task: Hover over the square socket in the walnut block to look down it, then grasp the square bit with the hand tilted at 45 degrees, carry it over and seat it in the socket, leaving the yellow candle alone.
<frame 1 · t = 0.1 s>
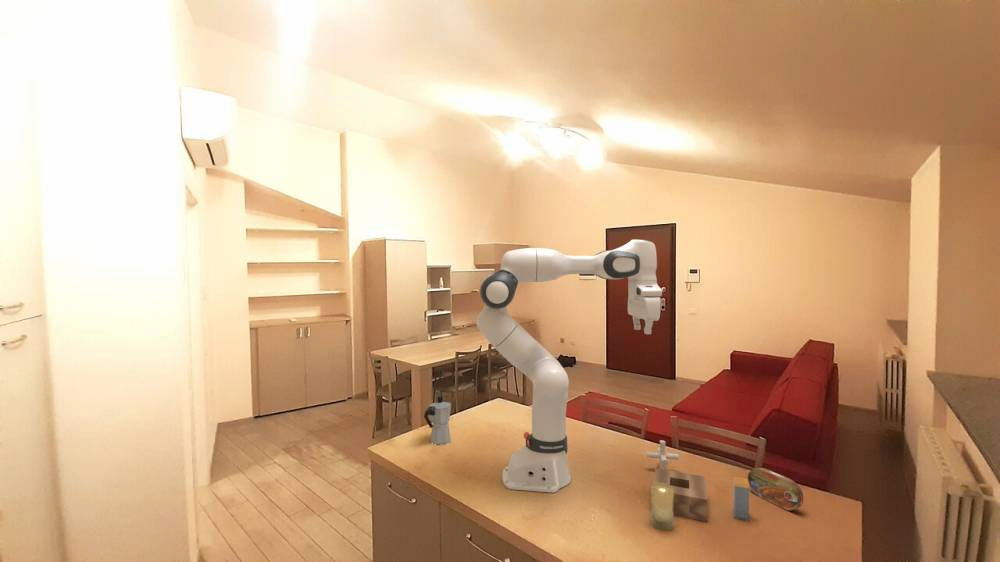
hand: (642, 331, 139), 48 cm above the counter, tool pointing down, fingers open, 8 cm apart
pipe connector: (662, 471, 144), on the counter
yellow candle: (662, 524, 114), on the counter
bore block: (679, 503, 124), on the counter
coffee maker: (438, 442, 170), on the counter
square bit: (741, 516, 117), on the counter
tin: (774, 502, 124), on the counter
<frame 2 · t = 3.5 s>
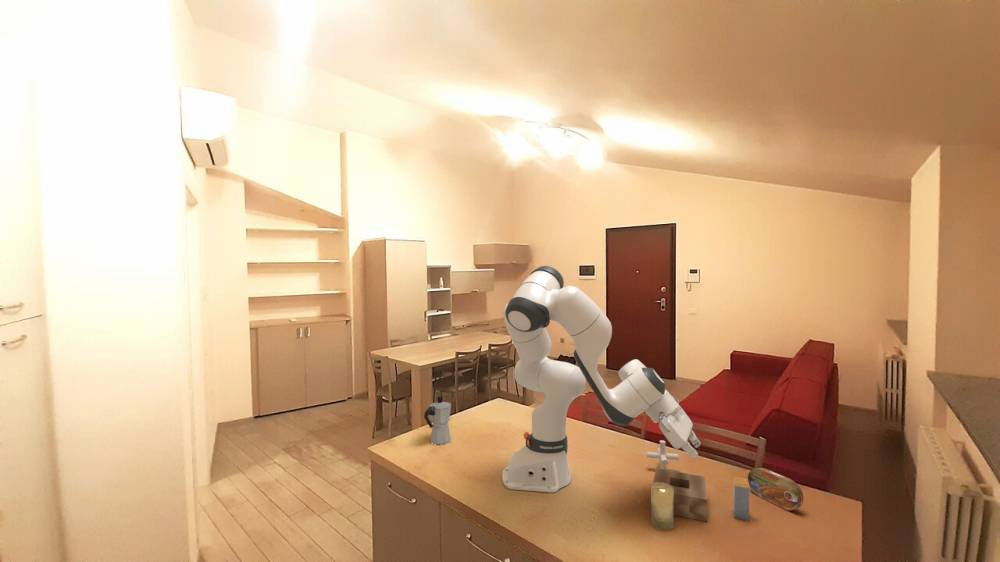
hand: (697, 451, 120), 17 cm above the counter, tool tilted 40°, fingers open, 8 cm apart
nothing on the counter moved.
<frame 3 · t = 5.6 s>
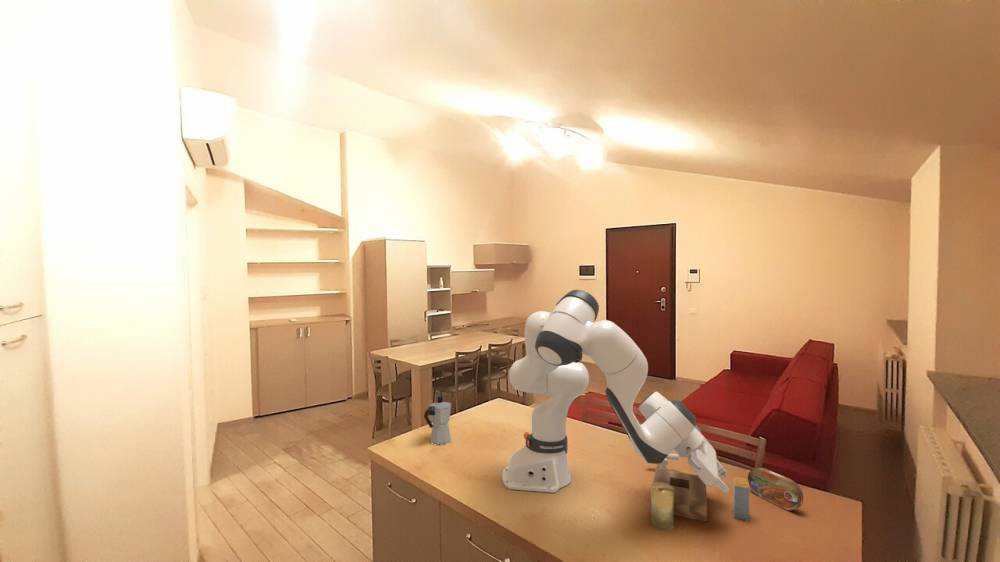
hand: (726, 482, 118), 9 cm above the counter, tool tilted 45°, fingers open, 8 cm apart
nothing on the counter moved.
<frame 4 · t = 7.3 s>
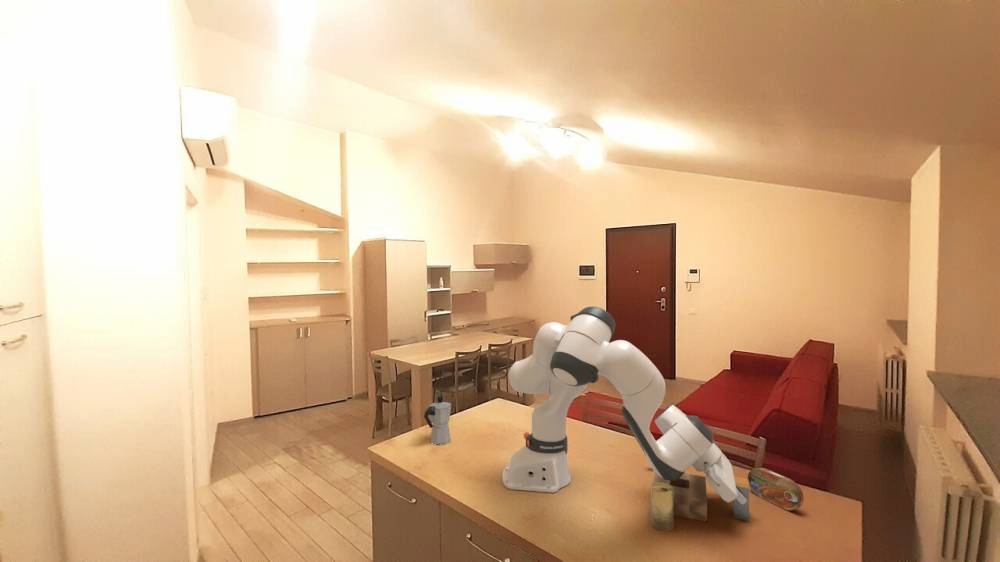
hand: (743, 497, 117), 5 cm above the counter, tool tilted 45°, fingers closed on square bit, 3 cm apart
square bit: (741, 516, 117), on the counter, touching gripper
everything else where it was.
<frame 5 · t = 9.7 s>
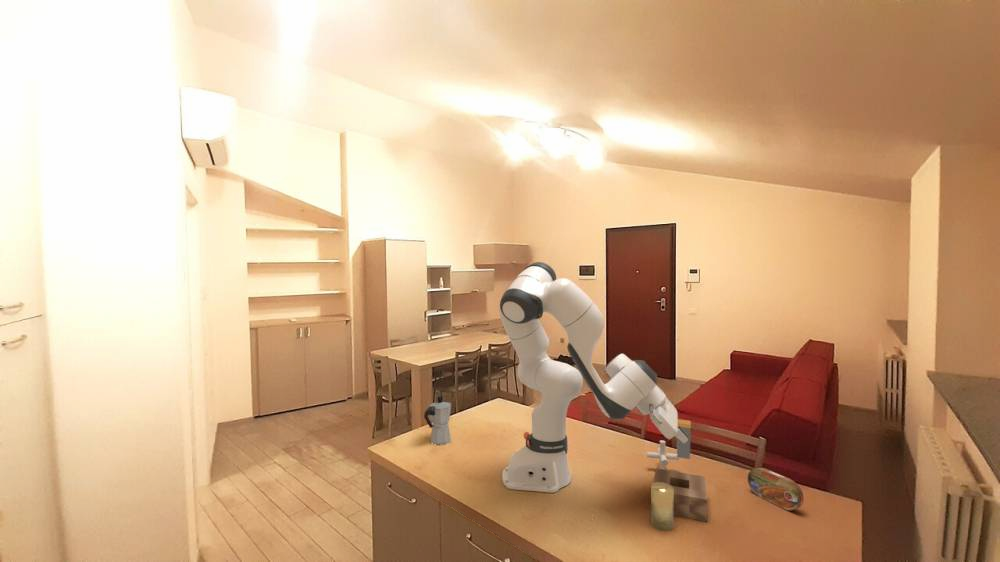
hand: (685, 438, 124), 19 cm above the counter, tool tilted 45°, fingers closed on square bit, 3 cm apart
square bit: (683, 455, 125), point 14 cm above the counter, touching gripper
everything else where it was.
when the fingers open (9 cm above the counter, at t = 12.1 s): square bit drops 4 cm, resting in bore block.
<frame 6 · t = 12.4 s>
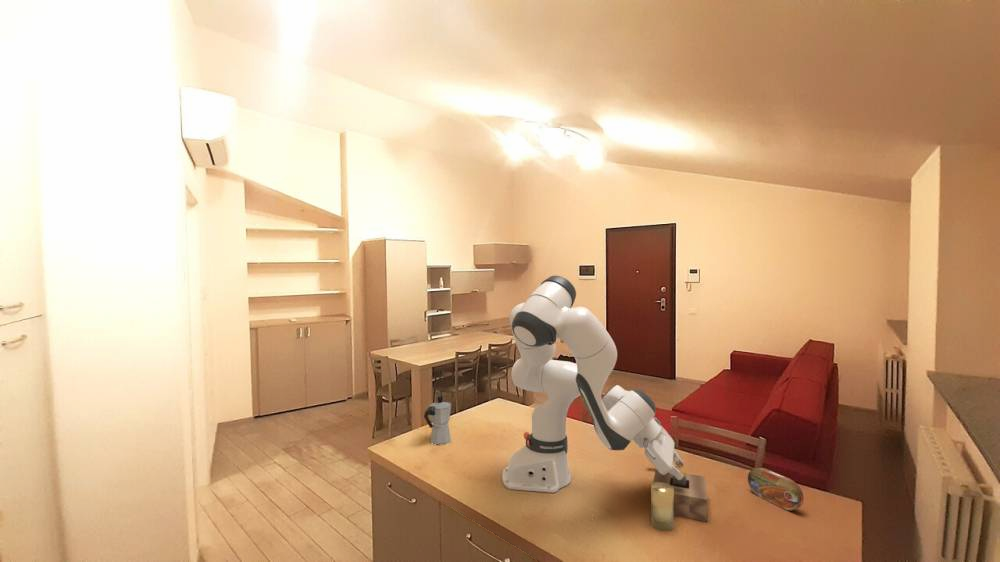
hand: (681, 471, 124), 9 cm above the counter, tool tilted 45°, fingers open, 7 cm apart
square bit: (679, 503, 124), resting in bore block
everything else where it was.
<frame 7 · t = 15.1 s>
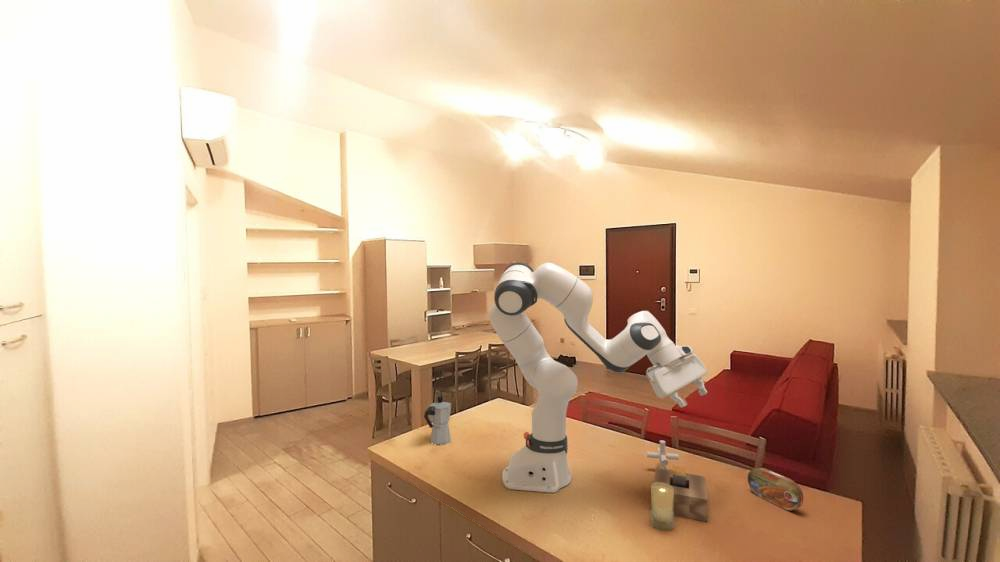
hand: (694, 400, 125), 30 cm above the counter, tool tilted 35°, fingers open, 8 cm apart
nothing on the counter moved.
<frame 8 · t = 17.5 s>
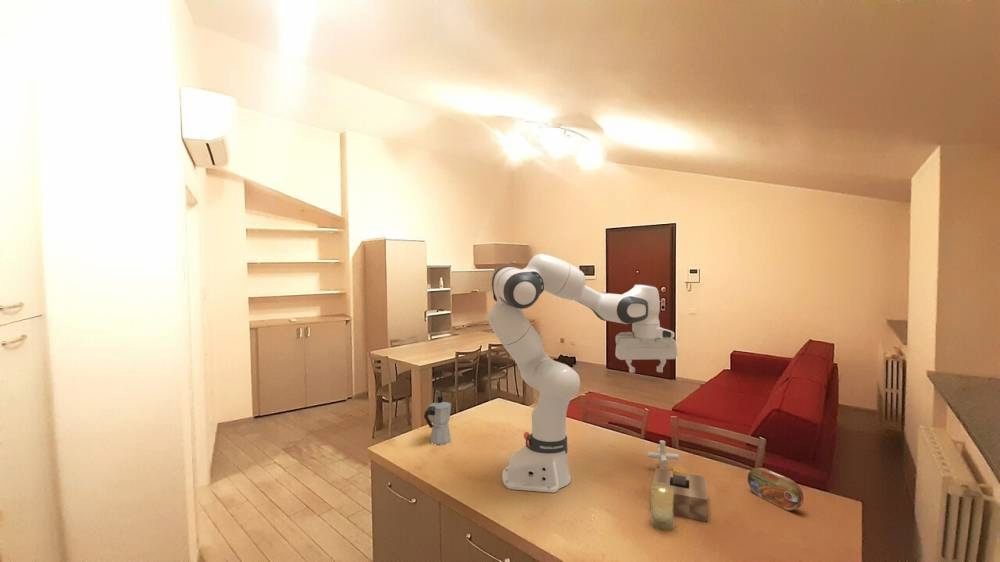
hand: (645, 372, 145), 33 cm above the counter, tool pointing down, fingers open, 8 cm apart
nothing on the counter moved.
at the end: square bit 0.0 cm off-centre on the bore block, point 0.0 cm above the bore block's base; square bit tilted 0°; the gripper is holding nothing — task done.
